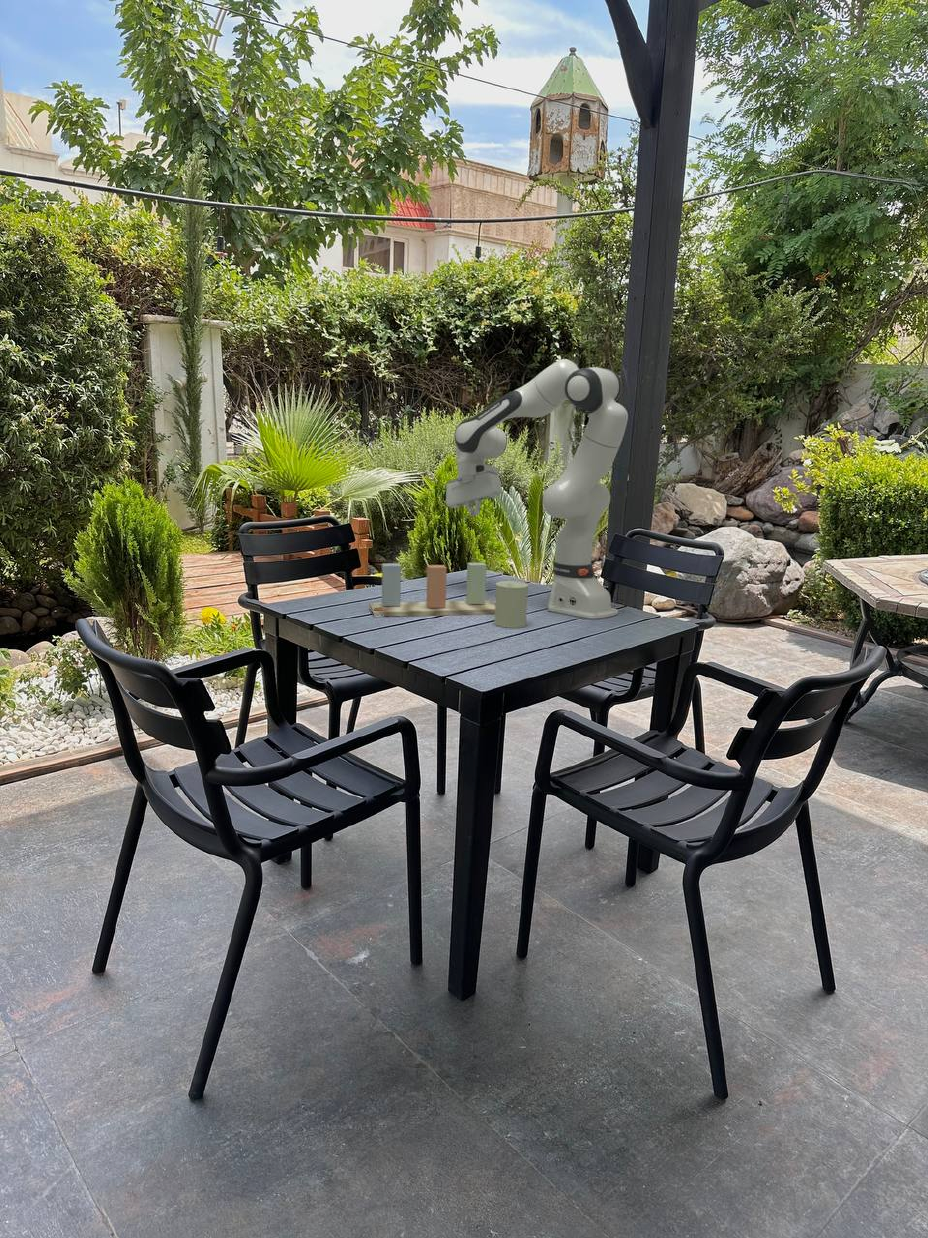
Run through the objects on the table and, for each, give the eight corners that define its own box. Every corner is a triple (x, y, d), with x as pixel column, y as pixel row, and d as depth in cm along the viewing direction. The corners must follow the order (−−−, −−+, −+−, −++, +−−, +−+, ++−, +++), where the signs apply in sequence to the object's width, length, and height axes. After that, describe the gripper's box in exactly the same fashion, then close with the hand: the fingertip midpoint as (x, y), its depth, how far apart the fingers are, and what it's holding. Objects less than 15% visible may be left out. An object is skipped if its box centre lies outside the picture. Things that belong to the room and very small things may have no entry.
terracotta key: (442, 604, 238) (443, 565, 235) (445, 607, 234) (446, 567, 232) (426, 604, 237) (427, 565, 234) (428, 607, 233) (429, 567, 230)
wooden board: (491, 604, 248) (491, 598, 247) (501, 614, 236) (501, 607, 236) (369, 607, 239) (369, 601, 238) (374, 617, 228) (374, 610, 227)
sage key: (481, 600, 244) (483, 562, 242) (485, 603, 241) (486, 564, 238) (466, 601, 243) (467, 562, 240) (469, 604, 240) (470, 565, 237)
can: (490, 626, 222) (491, 584, 219) (498, 618, 231) (500, 578, 228) (522, 629, 220) (524, 587, 217) (529, 621, 228) (531, 581, 225)
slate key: (398, 602, 239) (398, 563, 236) (400, 605, 235) (400, 565, 232) (381, 603, 237) (382, 563, 234) (383, 606, 234) (383, 566, 231)
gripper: (440, 479, 260) (443, 520, 259) (490, 463, 248) (494, 506, 246) (452, 482, 265) (455, 523, 264) (502, 467, 253) (505, 510, 251)
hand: (474, 515), depth 255 cm, fingers closed
